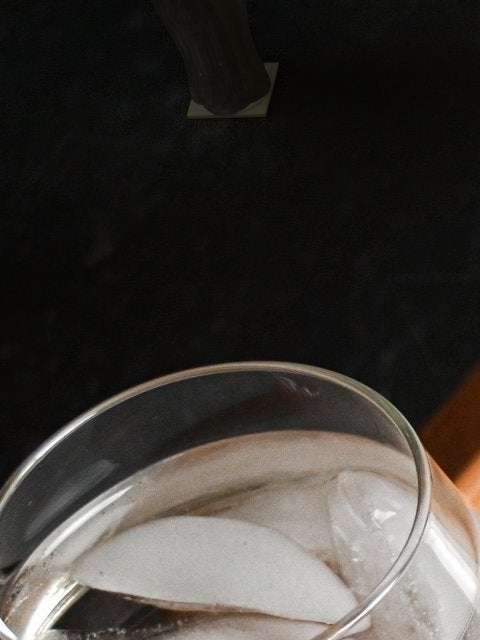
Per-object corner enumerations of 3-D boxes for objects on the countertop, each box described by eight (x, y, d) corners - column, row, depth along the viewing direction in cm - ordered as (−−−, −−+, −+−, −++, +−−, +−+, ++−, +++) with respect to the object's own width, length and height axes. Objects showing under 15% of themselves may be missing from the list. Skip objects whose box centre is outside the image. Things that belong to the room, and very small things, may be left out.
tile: (187, 119, 145) (186, 115, 145) (202, 67, 148) (201, 64, 148) (266, 117, 144) (265, 113, 144) (279, 65, 148) (278, 62, 147)
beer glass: (175, 76, 147) (107, -107, 134) (263, 49, 148) (203, -135, 136) (198, 130, 144) (130, -53, 131) (288, 102, 145) (229, -82, 132)
